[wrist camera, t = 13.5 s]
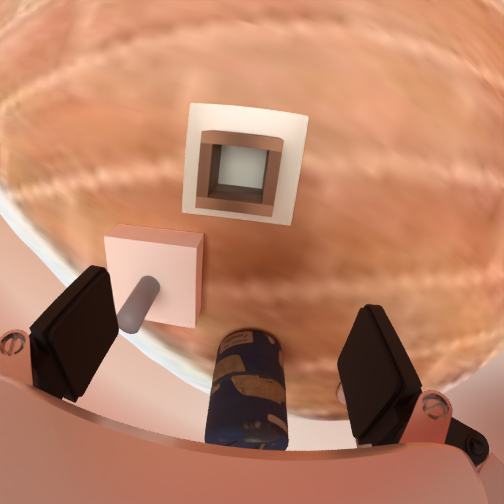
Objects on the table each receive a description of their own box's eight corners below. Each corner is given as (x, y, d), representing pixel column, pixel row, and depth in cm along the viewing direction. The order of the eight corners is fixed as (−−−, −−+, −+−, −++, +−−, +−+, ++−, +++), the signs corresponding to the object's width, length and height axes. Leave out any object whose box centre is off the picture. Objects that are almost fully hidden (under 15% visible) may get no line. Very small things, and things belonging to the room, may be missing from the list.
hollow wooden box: (279, 137, 26) (283, 140, 21) (269, 199, 29) (271, 217, 23) (213, 130, 26) (201, 130, 20) (207, 191, 29) (195, 207, 23)
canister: (205, 343, 39) (182, 451, 23) (256, 314, 36) (252, 436, 20) (245, 376, 42) (239, 475, 26) (294, 353, 40) (305, 460, 23)
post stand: (204, 233, 32) (179, 284, 22) (201, 309, 36) (183, 370, 26) (119, 223, 31) (70, 265, 21) (126, 296, 36) (93, 349, 26)
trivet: (307, 116, 26) (308, 116, 25) (289, 223, 31) (290, 225, 30) (192, 103, 25) (190, 103, 25) (183, 210, 30) (182, 212, 30)
